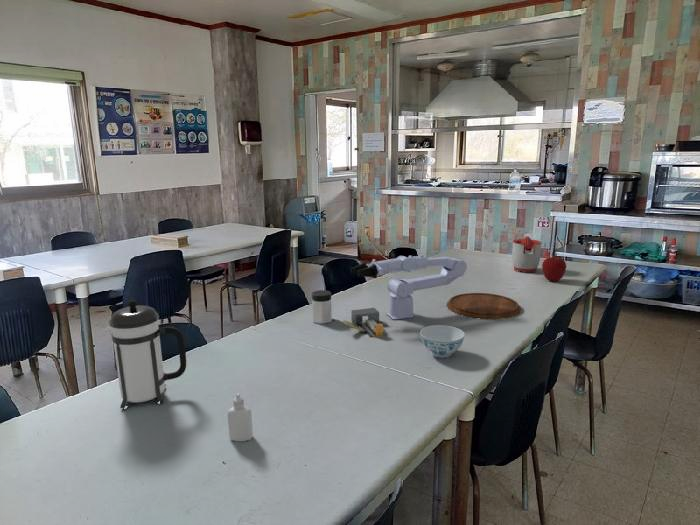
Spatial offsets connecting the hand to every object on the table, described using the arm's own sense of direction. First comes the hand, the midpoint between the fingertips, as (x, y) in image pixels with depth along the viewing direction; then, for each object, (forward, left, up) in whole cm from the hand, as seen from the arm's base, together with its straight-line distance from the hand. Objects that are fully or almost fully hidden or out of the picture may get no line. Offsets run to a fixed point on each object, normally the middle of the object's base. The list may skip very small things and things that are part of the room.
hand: (354, 272), depth 195 cm
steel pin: (-4, +11, -22) cm, 24 cm away
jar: (+12, -8, -22) cm, 26 cm away
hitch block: (-4, +7, -22) cm, 23 cm away
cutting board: (-60, 0, -22) cm, 64 cm away
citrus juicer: (-118, -48, -22) cm, 129 cm away
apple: (-118, -25, -22) cm, 122 cm away
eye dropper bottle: (+52, +68, -22) cm, 89 cm away
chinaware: (-19, +39, -22) cm, 49 cm away
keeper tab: (+4, +10, -19) cm, 22 cm away
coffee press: (+76, +38, -22) cm, 88 cm away
